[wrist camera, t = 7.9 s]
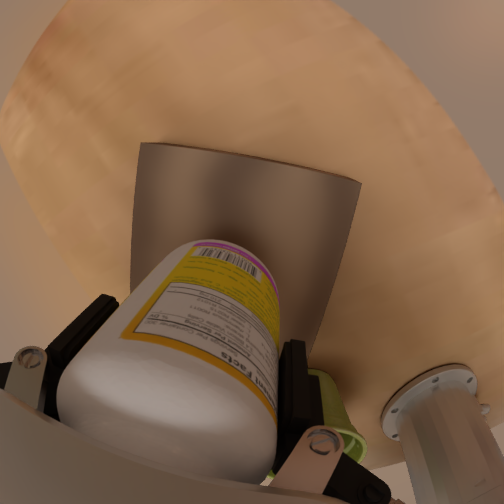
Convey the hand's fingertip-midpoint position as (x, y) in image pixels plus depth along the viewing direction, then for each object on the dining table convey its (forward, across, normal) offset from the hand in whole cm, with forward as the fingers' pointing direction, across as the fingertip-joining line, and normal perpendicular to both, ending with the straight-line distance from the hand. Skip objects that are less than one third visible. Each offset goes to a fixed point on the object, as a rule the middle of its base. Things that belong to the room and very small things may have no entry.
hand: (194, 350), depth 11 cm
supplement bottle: (+5, 0, 0) cm, 5 cm away
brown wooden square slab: (+12, 0, 0) cm, 12 cm away
